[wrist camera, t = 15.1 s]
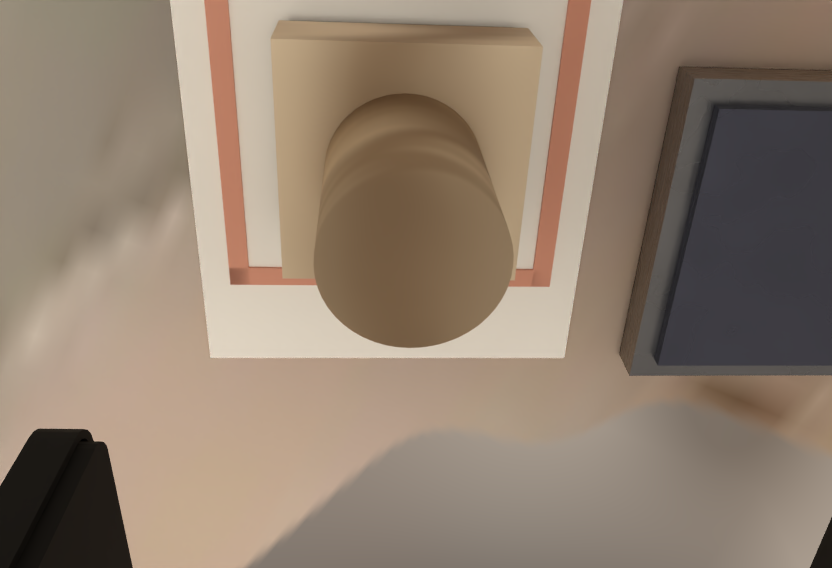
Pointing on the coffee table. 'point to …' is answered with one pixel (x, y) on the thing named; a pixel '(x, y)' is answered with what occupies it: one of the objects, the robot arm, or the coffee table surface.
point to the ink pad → (738, 230)
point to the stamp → (403, 169)
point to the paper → (258, 185)
